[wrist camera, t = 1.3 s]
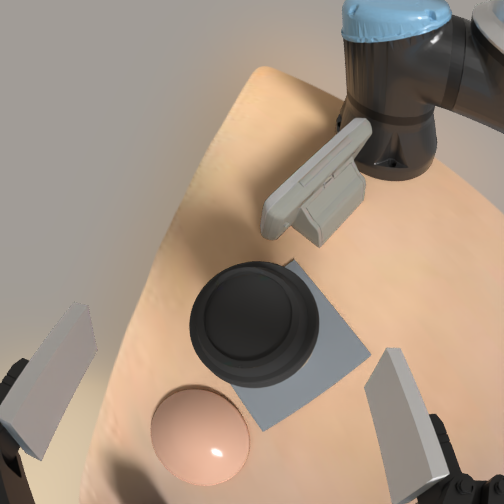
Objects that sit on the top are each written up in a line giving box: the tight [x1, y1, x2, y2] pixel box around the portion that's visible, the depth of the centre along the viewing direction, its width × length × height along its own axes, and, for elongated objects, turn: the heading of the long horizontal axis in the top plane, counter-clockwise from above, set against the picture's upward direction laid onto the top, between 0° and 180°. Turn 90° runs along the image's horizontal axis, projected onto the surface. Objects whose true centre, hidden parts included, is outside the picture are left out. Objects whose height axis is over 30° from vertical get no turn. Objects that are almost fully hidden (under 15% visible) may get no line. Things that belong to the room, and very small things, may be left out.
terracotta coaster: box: [151, 389, 250, 486], centre depth 30 cm, size 12×12×1 cm
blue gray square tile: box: [231, 260, 371, 431], centre depth 32 cm, size 14×14×1 cm
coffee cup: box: [189, 261, 319, 388], centre depth 25 cm, size 9×9×15 cm
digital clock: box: [260, 118, 372, 248], centre depth 33 cm, size 16×9×11 cm, turn 122°
